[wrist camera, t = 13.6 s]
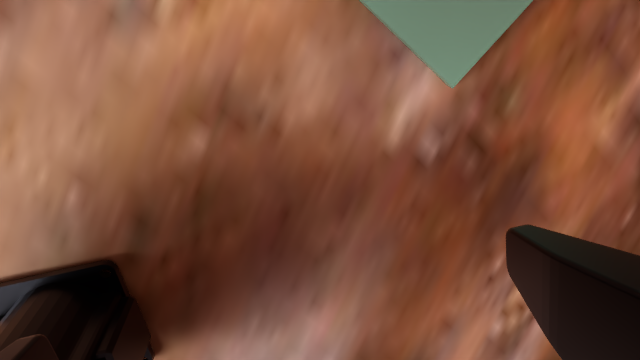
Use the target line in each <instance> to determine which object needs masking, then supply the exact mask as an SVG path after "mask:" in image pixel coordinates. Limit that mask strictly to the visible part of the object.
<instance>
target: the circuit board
mask: <svg viewBox="0 0 640 360" xmlns="http://www.w3.org/2000/svg"><path fill="white" fill-rule="evenodd" d="M359 1H360V2H361V3H362V4H363V5H364V6H365V7H367V8H368V9H369V10H370V11H371V12H372V13H373V14H374V15H375V16H376V17H377V18H378V19H379V20H380V21H381V22H382V23H383V24H384V25H385V26H386V27H387V28H388V29H389V30H390V31H391V32H392V33H393V34H395V35H396V36H397V37H398V38H399V39H400V40H401V41H402V42H403V43H404V44H405V45H406V46H407V47H408V48H409V49H410V50H411V51H412V52H413V53H414V54H415V55H416V56H417V57H418V58H419V59H420V60H421V61H422V62H424V63H425V64H426V65H427V66H428V67H429V68H430V69H431V70H432V71H433V72H434V73H435V74H436V75H437V76H438V77H439V78H440V79H441V80H442V81H443V82H444V83H445V84H446V85H447V86H449V87H451V88H454V87H455V86H456V84H457V83H458V82H459V81H460V80H461V79H462V78H463V77H464V76H465V75H466V73H467V72H468V71H469V70H470V69H471V68H472V67H473V66H474V65H475V64H476V63H477V61H478V60H479V59H480V58H481V57H482V56H483V55H484V54H485V53H486V52H487V50H488V49H489V48H490V47H491V46H492V45H493V44H494V43H495V42H496V41H497V39H498V38H499V37H500V36H501V35H502V34H503V33H504V32H505V31H506V30H507V29H508V27H509V26H510V25H511V24H512V23H513V22H514V21H515V20H516V19H517V18H518V16H519V15H520V14H521V13H522V12H523V11H524V10H525V9H526V8H527V7H528V6H529V4H530V3H531V2H532V1H533V0H359Z"/></svg>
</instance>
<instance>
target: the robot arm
mask: <svg viewBox="0 0 640 360" xmlns="http://www.w3.org/2000/svg"><path fill="white" fill-rule="evenodd" d="M506 261H507V269H508V272H509V275H510V277H511V279H512V280H513V282H514V284H515V285H516V287H517V289H518V291H519V292H520V294H521V296H522V297H523V299H524V301H525V302H526V304H527V306H528V307H529V309H530V311H531V312H532V314H533V316H534V318H535V319H536V321H537V323H538V324H539V326H540V328H541V329H542V331H543V333H544V334H545V336H546V337H547V339H548V340H549V342H550V343H551V345H552V346H553V348H554V349H555V350H556V352H557V353H558V354H559V356H560V357H561V358H562V360H640V256H639V255H636V254H632V253H628V252H625V251H621V250H618V249H614V248H611V247H607V246H604V245H600V244H597V243H593V242H589V241H586V240H582V239H579V238H575V237H572V236H568V235H565V234H561V233H558V232H554V231H550V230H547V229H543V228H540V227H536V226H533V225H522V226H518V227H513V228H510V229H509V230H508V231H507V233H506ZM102 269H107V270H109V271H110V273H105V272H103V270H102ZM150 337H151V335H150V333H149V330H148V328H147V325H146V323H145V320H144V318H143V316H142V313H141V311H140V308H139V306H138V304H137V301H136V299H135V298H134V297H132V296H130V294H129V292H128V290H127V287H126V285H125V283H124V280H123V278H122V275H121V273H120V271H119V268H118V266H117V265H116V263H114V262H113V261H109V260H103V261H99V262H94V263H90V264H85V265H81V266H76V267H72V268H67V269H63V270H58V271H53V272H49V273H44V274H40V275H35V276H31V277H26V278H22V279H17V280H13V281H8V282H4V283H0V360H153V359H154V352H153V349H152V347H151V345H150V342H149V340H150ZM144 357H146V358H147V359H144Z"/></svg>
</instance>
